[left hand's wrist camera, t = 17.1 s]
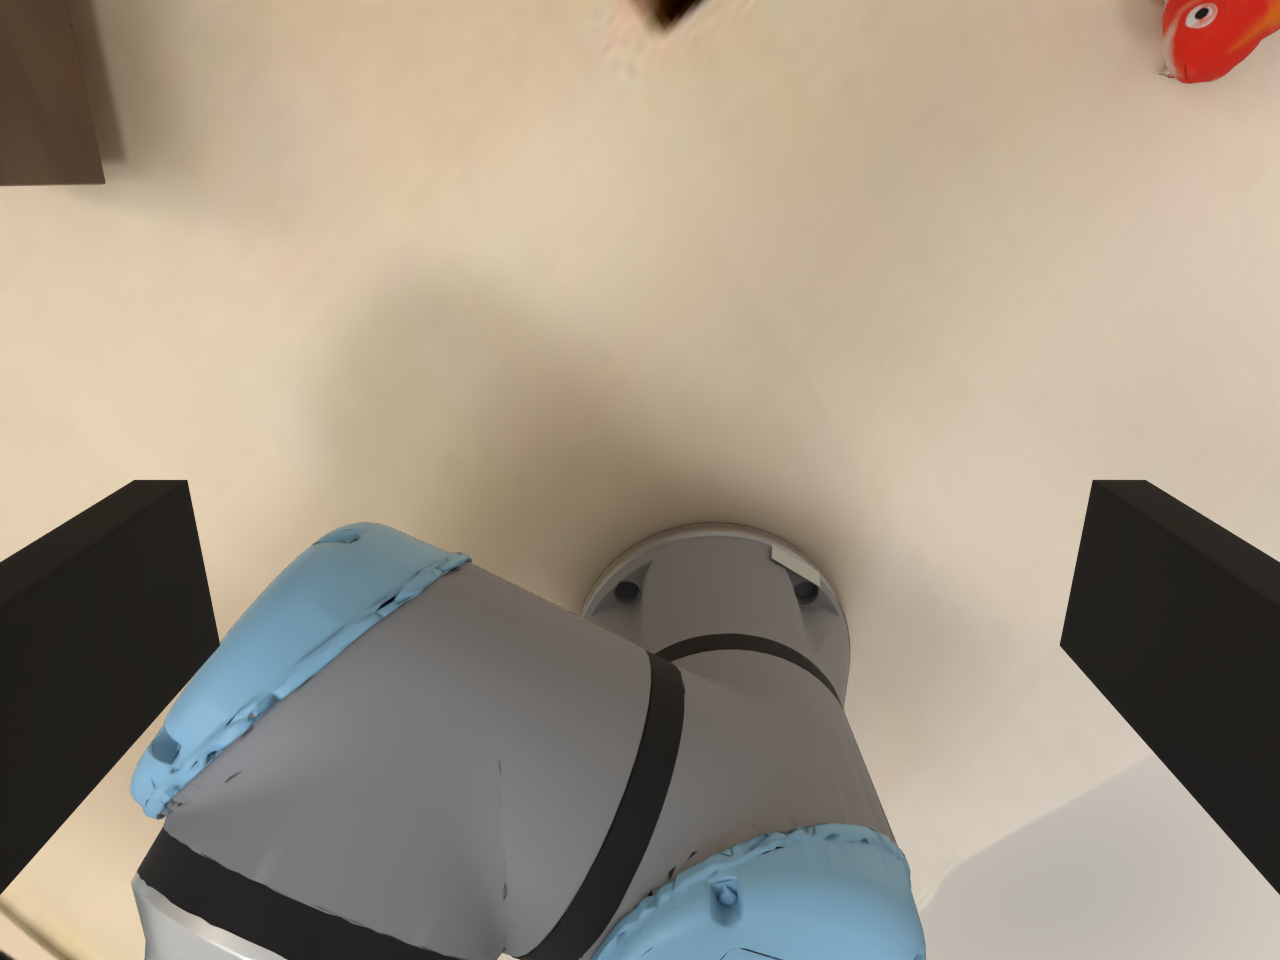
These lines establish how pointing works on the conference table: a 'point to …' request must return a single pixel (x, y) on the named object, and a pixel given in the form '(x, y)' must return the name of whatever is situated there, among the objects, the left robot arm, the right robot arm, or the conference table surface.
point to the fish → (1213, 35)
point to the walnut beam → (43, 99)
